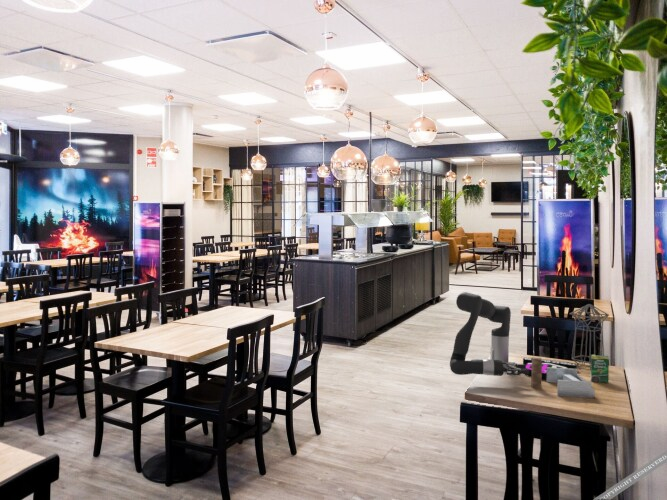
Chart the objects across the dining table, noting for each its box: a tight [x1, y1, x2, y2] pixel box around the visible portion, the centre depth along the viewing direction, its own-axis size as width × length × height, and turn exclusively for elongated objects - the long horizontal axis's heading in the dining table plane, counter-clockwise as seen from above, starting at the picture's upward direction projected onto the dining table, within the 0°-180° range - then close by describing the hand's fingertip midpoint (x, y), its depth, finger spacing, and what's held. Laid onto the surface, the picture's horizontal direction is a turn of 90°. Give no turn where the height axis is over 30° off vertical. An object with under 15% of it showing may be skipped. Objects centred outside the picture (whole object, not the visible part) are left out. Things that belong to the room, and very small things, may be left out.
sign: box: [522, 357, 578, 381], centre depth 279 cm, size 27×4×30 cm
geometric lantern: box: [569, 303, 610, 371], centre depth 288 cm, size 16×16×35 cm
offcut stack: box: [563, 375, 580, 381], centre depth 249 cm, size 4×12×6 cm, turn 0°
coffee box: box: [590, 354, 610, 384], centre depth 263 cm, size 8×3×13 cm, turn 67°
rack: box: [545, 367, 595, 399], centre depth 250 cm, size 16×23×7 cm
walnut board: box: [530, 356, 543, 390], centre depth 253 cm, size 4×3×14 cm
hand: (527, 369), depth 253 cm, fingers open, 8 cm apart
